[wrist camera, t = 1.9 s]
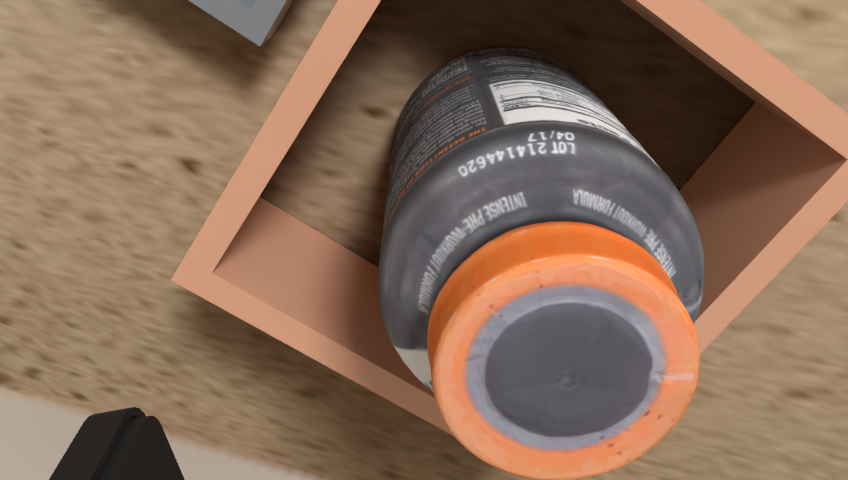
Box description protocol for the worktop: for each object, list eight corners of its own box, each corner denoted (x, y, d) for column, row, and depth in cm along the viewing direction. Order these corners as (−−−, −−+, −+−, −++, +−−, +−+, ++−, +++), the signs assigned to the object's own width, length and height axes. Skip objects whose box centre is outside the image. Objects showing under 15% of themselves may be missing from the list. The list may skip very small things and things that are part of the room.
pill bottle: (447, 275, 23) (461, 582, 13) (356, 101, 21) (283, 299, 10) (635, 196, 22) (818, 461, 12) (559, 3, 20) (702, 117, 9)
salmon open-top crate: (793, 95, 21) (896, 150, 16) (538, 385, 25) (562, 496, 20) (447, -169, 18) (453, -192, 14) (224, 201, 22) (170, 280, 17)
